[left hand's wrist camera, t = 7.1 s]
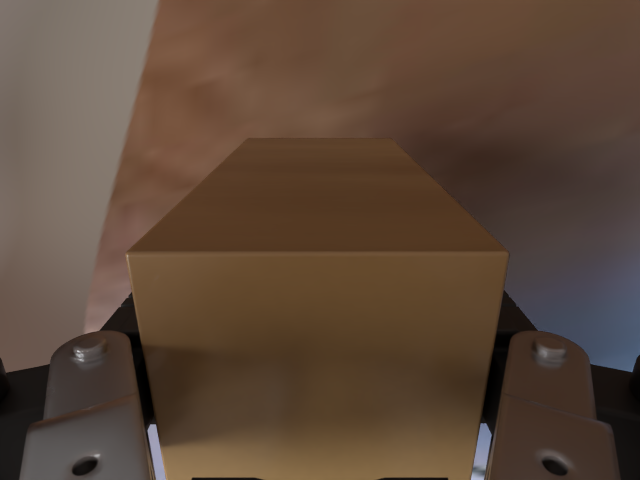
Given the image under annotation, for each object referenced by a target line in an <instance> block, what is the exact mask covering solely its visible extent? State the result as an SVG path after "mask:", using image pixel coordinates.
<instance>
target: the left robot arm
mask: <svg viewBox="0 0 640 480" xmlns="http://www.w3.org/2000/svg"><path fill="white" fill-rule="evenodd" d="M481 423H487V426H488V428H489V430H490V432H491V434H492V436H491V442H490V447H489V453H488V459H487V465H486V471H485V477H484V480H640V355H639V356H638V357H637V360H636V363H635V366H634V369H633V372H628V371H622V370H617V369H612V368H607V367H602V366H596V365H592V364H590V360H589V357H588V355H587V354H586V352H585V351H584V350H583V349H582V348H581V347H579V346H578V345H577V344H575V343H574V342H572V341H570V340H568V339H566V338H564V337H562V336H559V335H556V334H552V333H549V332H543V331H538V330H537V329H536V328H535V327H534V325H533V324H532V323H531V322H530V321H529V319H528V318H527V317H526V316H525V314H524V313H523V312H522V311H521V310H520V308H519V307H516V304H515V302H514V301H513V300H512V299H511V298H509V295H508V294H507V293H506V292H505V290H504V291H503V297H502V303H501V308H500V314H499V320H498V326H497V331H496V337H495V343H494V349H493V354H492V360H491V366H490V372H489V377H488V383H487V389H486V394H485V400H484V406H483V412H482V417H481ZM150 424H156V421H155V415H154V410H153V404H152V399H151V393H150V388H149V382H148V377H147V371H146V366H145V360H144V355H143V349H142V344H141V338H140V333H139V327H138V322H137V316H136V311H135V305H134V300H133V295H132V292H131V294H130V295H129V298H126V300H125V301H124V302H123V303H122V304H121V307H119V308H118V309H117V310H116V312H115V313H114V314H113V315H112V316H111V318H110V319H109V320H108V321H107V322H106V323H105V325H104V326H103V327H102V328H101V329H100V331H97V332H91V333H88V334H84V335H81V336H78V337H76V338H74V339H72V340H70V341H68V342H66V343H65V344H63V345H62V346H61V347H59V348H58V349H57V350H56V351H55V352H54V354H53V355H52V357H51V360H50V364H48V365H44V366H39V367H34V368H29V369H24V370H19V371H13V372H8V373H6V372H5V369H4V366H3V363H2V360H1V358H0V480H156V477H155V471H154V465H153V459H152V453H151V447H150V442H149V436H148V431H147V430H148V428H149V426H150ZM191 480H263V479H259V478H255V477H192V479H191ZM377 480H449V479H448V477H385V478H381V479H377Z"/></svg>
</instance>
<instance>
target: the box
mask: <svg viewBox="0 0 640 480" xmlns="http://www.w3.org/2000/svg"><path fill="white" fill-rule="evenodd" d="M509 257H510V255H509V251H508V250H506V249H505V248H504V247H503V246H502V245H501V244H500V243H499V242H498V241H497V240H496V239H495V238H494V237H493V236H492V235H491V234H490V233H489V232H488V231H487V230H486V229H485V228H484V227H483V226H482V225H481V224H480V223H479V222H477V221H476V220H475V219H474V218H473V217H472V216H471V215H470V214H469V213H468V212H467V211H466V210H465V209H464V208H463V207H462V206H461V205H460V204H459V203H458V202H457V201H456V200H455V199H454V198H453V197H452V196H451V195H450V194H448V193H447V192H446V191H445V190H444V189H443V188H442V187H441V186H440V185H439V184H438V183H437V182H436V181H435V180H434V179H433V178H432V177H431V176H430V175H429V174H428V173H427V172H426V171H425V170H424V169H423V168H422V167H421V166H419V165H418V164H417V163H416V162H415V161H414V160H413V159H412V158H411V157H410V156H409V155H408V154H407V153H406V152H405V151H404V150H403V149H402V148H401V147H400V146H399V145H398V144H397V143H396V142H395V141H394V140H393V139H391V138H248V139H247V140H245V141H244V142H243V143H242V144H241V145H240V146H239V147H238V148H237V149H236V150H235V151H234V152H233V153H232V154H231V155H229V156H228V157H227V158H226V159H225V160H224V161H223V162H222V163H221V164H220V165H219V166H218V167H217V168H216V169H214V170H213V171H212V172H211V173H210V174H209V175H208V176H207V177H206V178H205V179H204V180H203V181H202V182H201V183H200V184H198V185H197V186H196V187H195V188H194V189H193V190H192V191H191V192H190V193H189V194H188V195H187V196H186V197H185V198H184V199H182V200H181V201H180V202H179V203H178V204H177V205H176V206H175V207H174V208H173V209H172V210H171V211H170V212H169V213H168V214H166V215H165V216H164V217H163V218H162V219H161V220H160V221H159V222H158V223H157V224H156V225H155V226H154V227H153V228H152V229H150V230H149V231H148V232H147V233H146V234H145V235H144V236H143V237H142V238H141V239H140V240H139V241H138V242H137V243H136V244H134V245H133V246H132V247H131V248H130V249H129V250H128V251H127V252H126V262H127V267H128V273H129V278H130V284H131V289H132V295H133V300H134V305H135V311H136V316H137V322H138V327H139V333H140V338H141V344H142V349H143V355H144V360H145V366H146V371H147V377H148V382H149V388H150V393H151V399H152V404H153V410H154V415H155V421H156V426H157V432H158V437H159V443H160V448H161V454H162V459H163V465H164V470H165V476H166V480H191V479H192V477H255V478H259V479H263V480H377V479H381V478H385V477H448V479H449V480H471V475H472V469H473V463H474V458H475V452H476V446H477V440H478V435H479V429H480V423H481V417H482V412H483V406H484V400H485V394H486V389H487V383H488V377H489V372H490V366H491V360H492V354H493V349H494V343H495V337H496V331H497V326H498V320H499V314H500V308H501V303H502V297H503V291H504V285H505V280H506V274H507V268H508V262H509Z"/></svg>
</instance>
